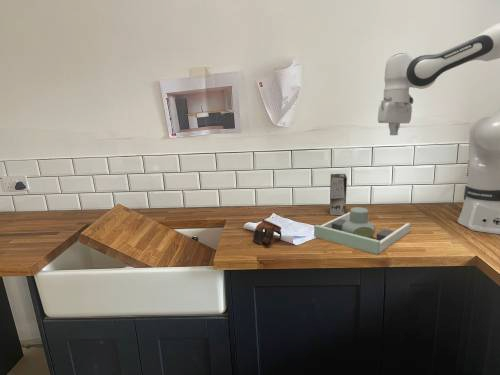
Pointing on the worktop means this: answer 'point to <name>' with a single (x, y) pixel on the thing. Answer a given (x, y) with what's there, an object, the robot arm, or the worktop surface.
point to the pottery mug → (268, 233)
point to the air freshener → (359, 223)
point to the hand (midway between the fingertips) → (393, 135)
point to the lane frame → (356, 240)
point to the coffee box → (338, 194)
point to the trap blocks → (379, 236)
